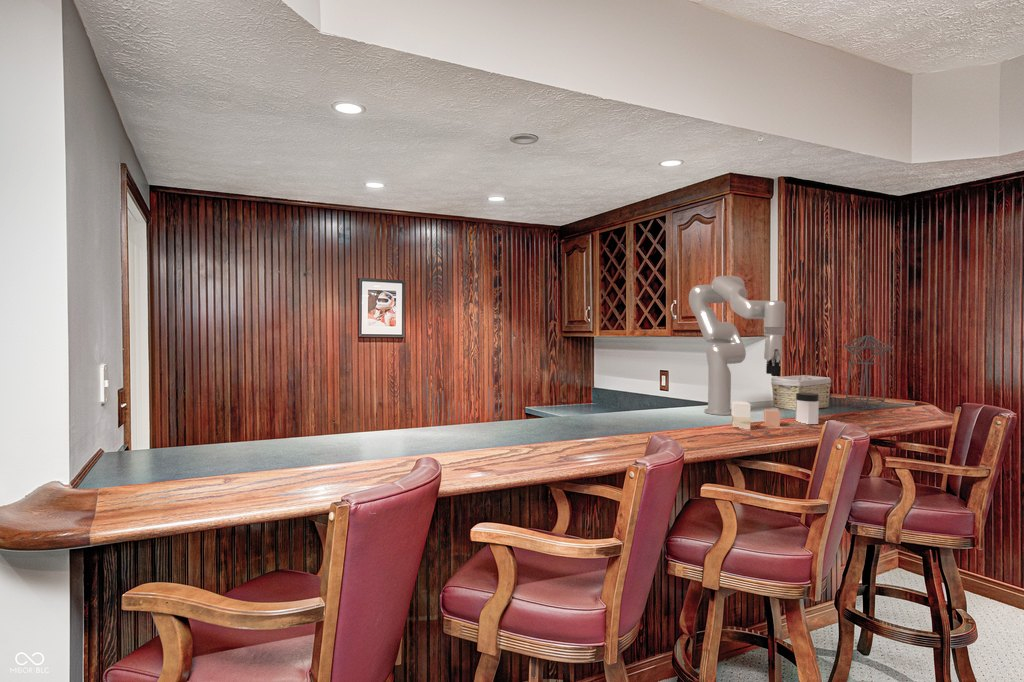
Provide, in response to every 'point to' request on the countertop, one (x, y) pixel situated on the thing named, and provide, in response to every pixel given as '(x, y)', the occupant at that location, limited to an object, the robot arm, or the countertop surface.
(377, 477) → the countertop surface
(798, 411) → the jar
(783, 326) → the robot arm
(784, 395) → the storage basket
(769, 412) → the top block
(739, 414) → the middle block
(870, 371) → the geometric lantern
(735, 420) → the base block
